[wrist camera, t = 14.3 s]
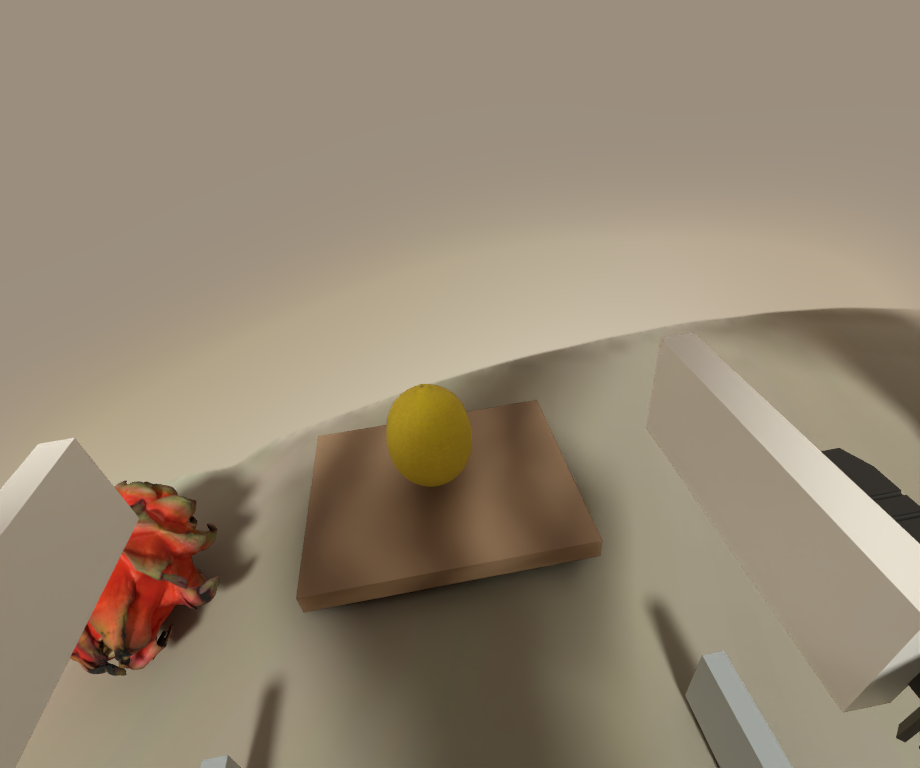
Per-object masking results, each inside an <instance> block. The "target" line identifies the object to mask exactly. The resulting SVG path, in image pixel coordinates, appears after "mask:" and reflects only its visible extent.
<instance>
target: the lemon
mask: <svg viewBox="0 0 920 768" xmlns="http://www.w3.org/2000/svg"><path fill="white" fill-rule="evenodd" d="M386 440H387V447H388V451H389V453H390V456H391V459H392V461H393V464H394V465H395V467H396V468H397V470H398V471H399V472H400V473H401V474H402V475H403V476H404V477H405V478H406V479H408V480H409V481H411V482H413V483H415V484H418V485H421V486H428V487H433V486H440V485H443V484H446V483H448V482H450V481H452V480H453V479H454V478H456V477H457V476H458V475H459V474H460V473H461V472H462V470H463V469H464V468H465V466H466V464H467V462H468V459H469V457H470V453H471V448H472V431H471V425H470V422H469V418H468V416H467V413H466V411H465V408H464V406H463V404H462V403H461V401H460V400H459V399H458V398H457V397H456V396H455V395H454V394H453V393H452V392H450V391H449V390H447V389H445V388H443V387H440V386H437V385H431V384H420V385H418V386H414V387H412V388H410V389H408V390H406V391H405V392H404V393H402V394H401V395H400V396H399V397H398V398H397V399H396V401H395V402H394V403H393V405H392V407H391V409H390V412H389V415H388V419H387V431H386Z"/></svg>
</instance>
